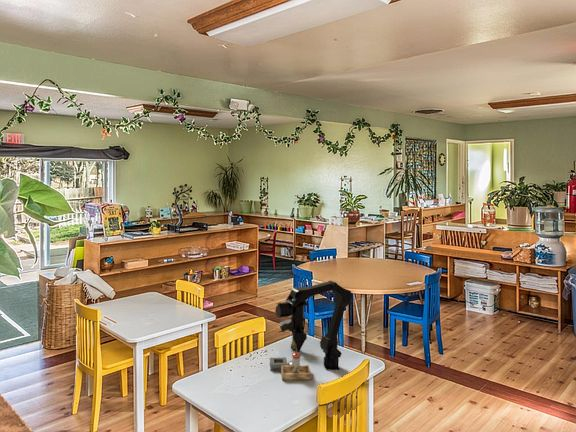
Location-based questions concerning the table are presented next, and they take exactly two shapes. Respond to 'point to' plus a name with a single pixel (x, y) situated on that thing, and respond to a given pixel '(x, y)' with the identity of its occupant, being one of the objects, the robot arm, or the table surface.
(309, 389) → the table surface
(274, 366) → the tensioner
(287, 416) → the table surface
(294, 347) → the mushroom
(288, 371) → the tray
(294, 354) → the pin
